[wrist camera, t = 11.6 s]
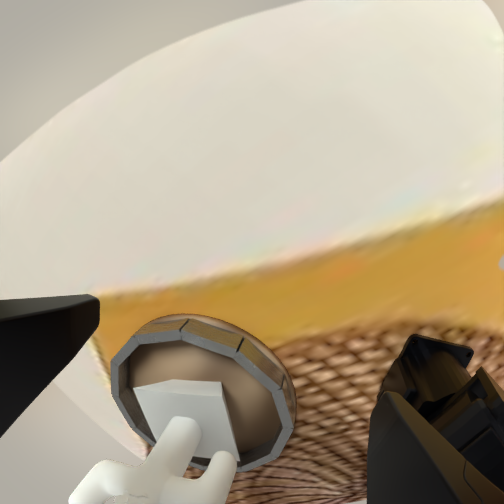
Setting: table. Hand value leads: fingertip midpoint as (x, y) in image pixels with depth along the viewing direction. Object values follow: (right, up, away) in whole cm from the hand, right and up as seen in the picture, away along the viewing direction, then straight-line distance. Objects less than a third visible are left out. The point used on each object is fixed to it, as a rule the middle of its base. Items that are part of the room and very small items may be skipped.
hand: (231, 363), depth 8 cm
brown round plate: (-4, -9, +16) cm, 19 cm away
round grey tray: (-4, -9, +16) cm, 19 cm away
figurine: (-4, -9, +16) cm, 19 cm away
